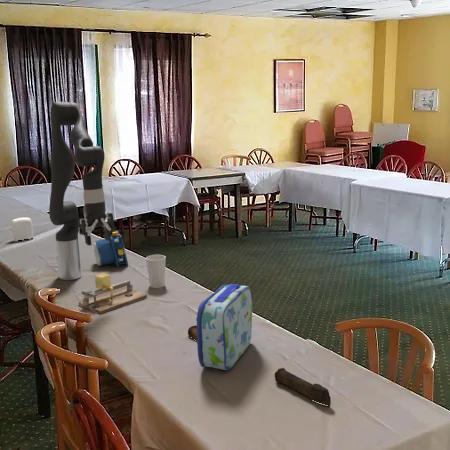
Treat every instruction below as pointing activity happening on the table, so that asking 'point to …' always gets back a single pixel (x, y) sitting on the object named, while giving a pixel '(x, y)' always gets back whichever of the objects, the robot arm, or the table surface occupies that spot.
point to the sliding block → (104, 282)
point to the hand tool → (303, 386)
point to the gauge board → (104, 301)
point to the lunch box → (224, 326)
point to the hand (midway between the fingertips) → (98, 242)
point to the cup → (156, 270)
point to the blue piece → (110, 250)
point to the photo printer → (22, 228)
